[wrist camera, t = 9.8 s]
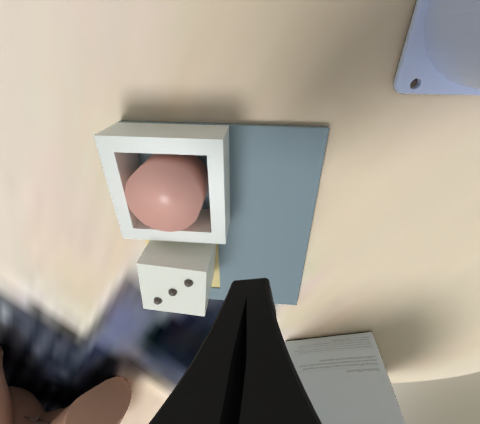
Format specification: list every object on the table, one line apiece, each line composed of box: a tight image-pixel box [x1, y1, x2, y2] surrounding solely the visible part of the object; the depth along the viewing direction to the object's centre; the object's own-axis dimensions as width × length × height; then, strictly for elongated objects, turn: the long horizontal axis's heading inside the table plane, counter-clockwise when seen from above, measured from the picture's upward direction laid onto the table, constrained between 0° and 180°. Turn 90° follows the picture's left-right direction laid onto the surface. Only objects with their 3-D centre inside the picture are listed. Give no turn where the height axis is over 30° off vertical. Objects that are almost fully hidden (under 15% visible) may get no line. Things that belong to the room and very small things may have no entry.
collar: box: [94, 122, 230, 244], centre depth 17 cm, size 7×7×3 cm
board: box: [119, 121, 329, 305], centre depth 21 cm, size 13×16×1 cm
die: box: [137, 240, 216, 316], centre depth 20 cm, size 4×4×5 cm
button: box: [125, 154, 209, 232], centre depth 17 cm, size 4×4×3 cm
